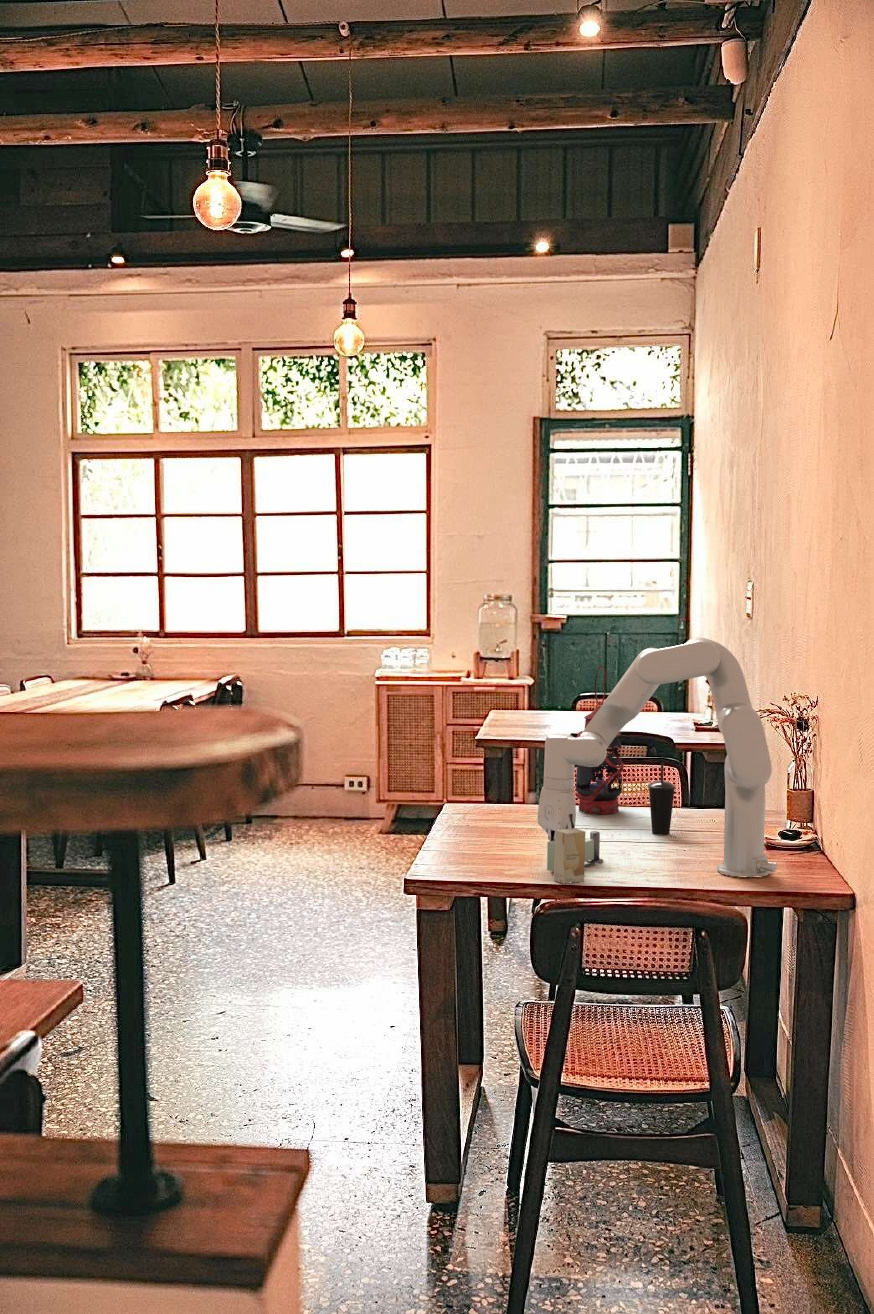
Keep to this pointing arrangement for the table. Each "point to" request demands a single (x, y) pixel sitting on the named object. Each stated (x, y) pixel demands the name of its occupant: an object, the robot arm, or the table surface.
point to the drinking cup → (661, 805)
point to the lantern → (600, 776)
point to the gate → (551, 852)
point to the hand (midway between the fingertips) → (555, 856)
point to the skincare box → (569, 855)
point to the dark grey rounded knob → (595, 847)
